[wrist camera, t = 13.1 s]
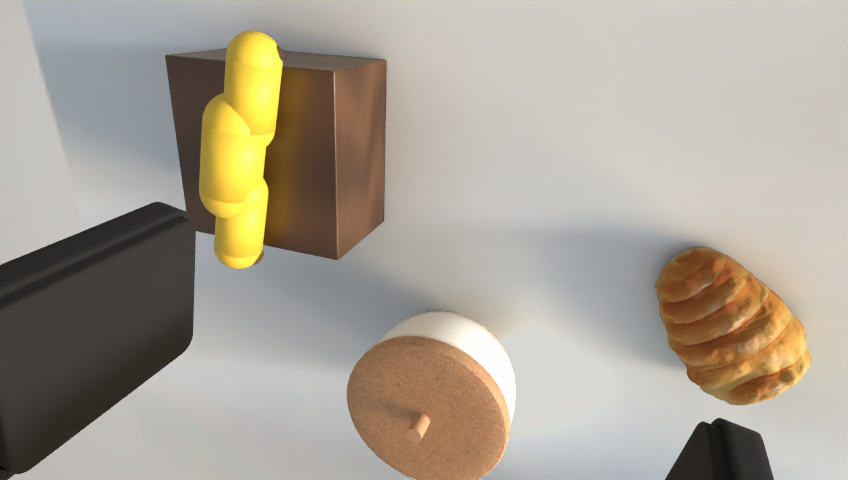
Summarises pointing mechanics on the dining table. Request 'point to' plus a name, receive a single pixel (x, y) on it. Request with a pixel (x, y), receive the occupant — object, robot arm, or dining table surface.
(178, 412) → the dining table surface
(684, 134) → the dining table surface
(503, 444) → the trinket box
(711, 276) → the pastry
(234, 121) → the banana
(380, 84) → the block
